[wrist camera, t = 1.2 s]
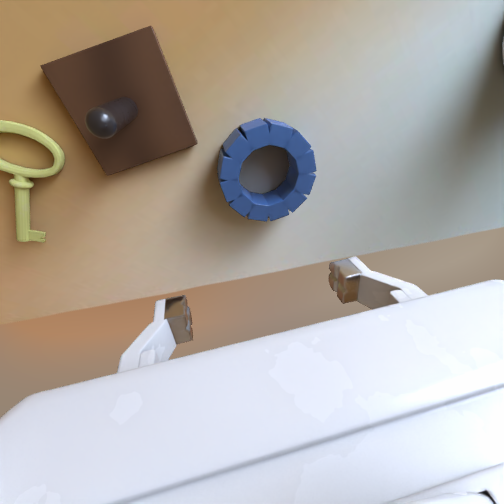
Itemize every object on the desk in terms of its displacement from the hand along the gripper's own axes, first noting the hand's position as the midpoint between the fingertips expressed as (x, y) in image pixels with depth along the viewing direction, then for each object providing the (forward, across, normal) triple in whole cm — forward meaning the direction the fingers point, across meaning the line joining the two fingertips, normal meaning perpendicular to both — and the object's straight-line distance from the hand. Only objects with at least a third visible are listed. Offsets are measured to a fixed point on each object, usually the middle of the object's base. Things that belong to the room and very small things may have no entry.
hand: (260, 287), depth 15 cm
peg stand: (+21, +7, -8) cm, 24 cm away
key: (+22, +20, -3) cm, 29 cm away
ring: (+20, -5, -1) cm, 21 cm away
